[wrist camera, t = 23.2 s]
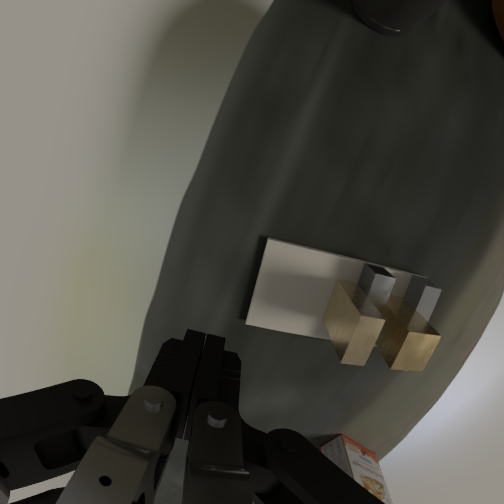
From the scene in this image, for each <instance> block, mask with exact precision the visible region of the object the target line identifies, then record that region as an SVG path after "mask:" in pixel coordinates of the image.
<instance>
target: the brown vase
mask: <svg viewBox="0 0 504 504" xmlns="http://www.w3.org/2000/svg"><path fill="white" fill-rule="evenodd" d="M492 11H493V15H494V18H495V22H496V25H497V28H498V31H499V33H500V36H501V38H502V40H503V42H504V0H492Z"/></svg>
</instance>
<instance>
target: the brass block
mask: <svg viewBox="0 0 504 504" xmlns="http://www.w3.org/2000/svg"><path fill="white" fill-rule="evenodd" d="M382 316H383V317H384V318H385V323H384V325H383V327H382V329H381V332H380V334H379V336H378V338H377V340H376V342H375V344H376V346H377V348H378V349H379V351H380V353H381V354H382V356H383V358H384V359H385V361H386V363H387V364H388V366H389V368H390V369H396V370H410V371H423V369H424V368H425V366H426V364H427V362H428V361H429V359H430V357H431V355H432V353H433V351H434V349H435V348H436V346H437V344H438V342H439V340H440V338H441V335H440V334H439V333H438V332H437V331H436V330H435V329H434V328H433V327H432V326H431V325H430V324H429V323H428V322H427V321H426V319H425V318H424V317H423V316H422V315H421V314H420V313H419V312H418V311H417V310H416V309H415V308H414V307H413V306H412V305H411V304H410V303H409V302H408V301H407V300H406V299H405V298H404V297H399V296H395V295H390V296H389V298H388V301H387V303H386V306H385V308H384V311H383V313H382Z"/></svg>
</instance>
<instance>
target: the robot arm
mask: <svg viewBox="0 0 504 504" xmlns="http://www.w3.org/2000/svg"><path fill="white" fill-rule="evenodd" d="M448 1H450V0H352V2H353V7H354V10H355V12H356V13H357V15H358V16H359V17H360V19H361V20H362V21H363V22H364V23H365V24H366V25H368V26H369V27H371V28H372V29H373V30H375V31H377V32H379V33H382V34H385V35H390V36H399V35H403V34H405V33H406V32H408V31H409V30H410V29H412V28H413V27H414V26H415V25H417V24H418V23H420V22H421V21H422V20H424V19H425V18H426V17H428V16H429V15H430V14H432V13H433V12H435V11H436V10H437V9H439V8H440V7H441V6H443V5H444V4H446V3H447V2H448ZM205 336H206V333H203V332H198V331H194V330H190V329H187V332H186V334H185V337H184V339H183V341H182V340H178V339H175V338H171V339H169V340H168V341H166V342H165V343H163V345H162V347H161V349H160V351H159V354H158V355H157V357H156V360H155V362H154V364H153V366H152V368H151V370H150V372H149V375H148V377H147V379H146V381H145V383H144V385H143V386H142V387H140V388H138V389H136V390H135V391H134V392H133V393H132V394H131V395H129V396H110V395H104V392H103V390H102V389H101V388H100V387H99V385H97V384H96V383H94V382H92V381H89V380H85V379H76V380H72V381H68V382H65V383H61V384H57V385H54V386H50V387H46V388H43V389H39V390H35V391H31V392H28V393H23V394H19V395H15V396H11V397H7V398H2V399H0V504H7V503H8V500H9V497H10V491H11V490H15V489H18V488H22V487H25V486H29V485H32V484H36V483H39V482H42V481H45V480H48V479H51V478H54V477H57V476H60V475H63V474H66V473H69V472H71V471H74V470H75V472H74V474H73V476H72V477H71V479H70V480H69V482H68V484H67V485H66V487H62V488H56V489H51V490H48V491H46V492H43V493H40V494H37V495H34V496H31V497H28V498H26V499H22V500H19V501H16V502H13V503H10V504H154V500H155V496H156V493H157V490H158V487H159V485H160V482H161V479H162V476H163V474H164V471H165V468H166V465H167V463H168V460H169V457H170V454H171V451H172V449H173V446H174V442H175V438H180V439H182V437H183V433H184V429H185V424H186V420H187V424H186V430H185V436H184V439H185V440H189V444H188V449H187V455H186V461H185V471H184V481H183V492H182V503H181V504H253V503H252V501H253V502H254V503H255V504H385V503H384V502H383V501H381V500H380V499H379V498H377V497H376V496H375V495H373V494H372V493H371V492H369V491H368V490H367V489H365V488H364V487H363V486H362V485H360V484H359V483H358V482H356V481H355V480H354V479H353V478H351V477H350V476H349V475H348V474H347V473H345V472H344V471H343V470H342V469H340V468H339V467H338V466H337V465H336V464H334V463H333V462H332V461H331V460H330V459H329V458H327V457H326V456H325V455H324V454H323V453H322V452H320V451H319V450H318V449H317V448H316V447H315V446H314V445H312V444H311V443H310V442H309V441H308V440H307V439H306V438H305V437H304V436H302V435H301V434H300V433H298V432H296V431H293V430H290V429H283V428H282V429H275V430H272V431H271V432H269V433H268V434H267V433H264V432H262V431H259V430H257V429H255V428H253V427H251V426H249V425H248V424H247V423H245V422H244V420H243V419H242V418H241V416H240V414H239V410H238V406H239V390H240V375H241V373H240V372H241V361H240V359H239V357H238V355H237V353H234V352H230V351H225V350H224V345H225V339H226V338H225V337H220V336H216V335H211V334H207V337H206V341H205ZM204 341H205V345H204ZM203 346H204V348H203ZM202 351H203V352H202ZM187 416H188V418H187Z"/></svg>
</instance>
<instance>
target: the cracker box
mask: <svg viewBox="0 0 504 504" xmlns="http://www.w3.org/2000/svg"><path fill="white" fill-rule="evenodd" d="M320 452H322V453H323V454H324V455H325V456H326V457H327V458H329V459H330V460H331V461H332V462H333V463H334V464H336V465H337V466H338V467H339V468H340V469H342V470H343V471H344V472H345V473H347V474H348V475H349V476H350V477H351V478H353V479H354V480H355V481H356V482H358V483H359V484H360V485H362V486H363V487H364V488H365V489H367V490H368V491H369V492H371V493H372V494H373V495H375V496H376V497H377V498H379V499H380V500H381V501H383V502H384V503H385V504H392V501H391V498H390V495H389V492H388V489H387V486H386V483H385V480H384V477H383V474H382V472H381V469H380V466H379V463H378V460H377V458H376V455H375V453H373V452H371V451H369V450H367V449H366V448H364V447H362V446H361V445H359V444H357V443H356V442H354V441H352V440H351V439H349V438H347V437H346V436H344V435H343V434H341V435H339V436H338V437H336V438H334V439H333V440H331V441H329V442H328V443H326V444H324V445H323V446H321V447H320Z"/></svg>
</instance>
